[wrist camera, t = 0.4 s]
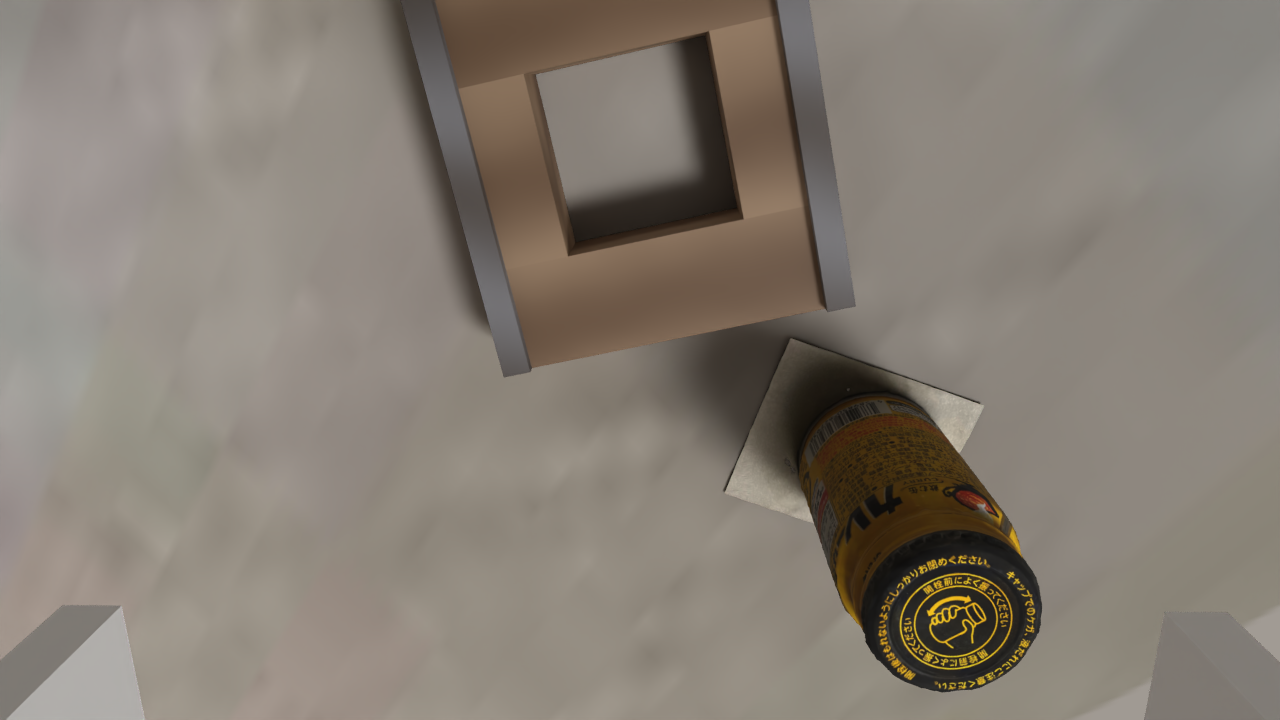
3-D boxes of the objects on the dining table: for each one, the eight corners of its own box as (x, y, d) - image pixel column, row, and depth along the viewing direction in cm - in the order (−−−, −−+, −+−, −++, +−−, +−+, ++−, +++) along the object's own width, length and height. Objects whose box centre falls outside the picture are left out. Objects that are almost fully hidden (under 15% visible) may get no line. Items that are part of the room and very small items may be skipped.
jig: (421, -13, 33) (394, -24, 30) (777, -99, 32) (790, -120, 28) (518, 350, 37) (503, 377, 34) (837, 285, 36) (855, 306, 32)
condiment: (908, 553, 39) (1008, 748, 28) (723, 491, 39) (749, 665, 27) (982, 403, 37) (1124, 547, 26) (789, 335, 37) (846, 452, 25)
